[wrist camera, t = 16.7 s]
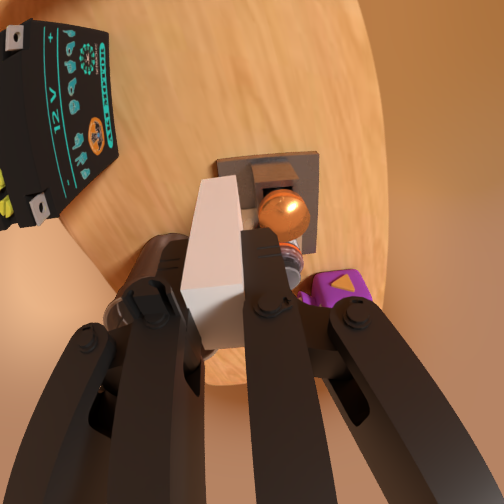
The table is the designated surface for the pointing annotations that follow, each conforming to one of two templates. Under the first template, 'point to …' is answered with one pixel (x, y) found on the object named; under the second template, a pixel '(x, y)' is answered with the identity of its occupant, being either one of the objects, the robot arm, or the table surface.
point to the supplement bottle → (291, 260)
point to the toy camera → (335, 288)
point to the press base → (276, 185)
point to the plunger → (284, 213)
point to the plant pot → (143, 268)
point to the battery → (52, 118)
